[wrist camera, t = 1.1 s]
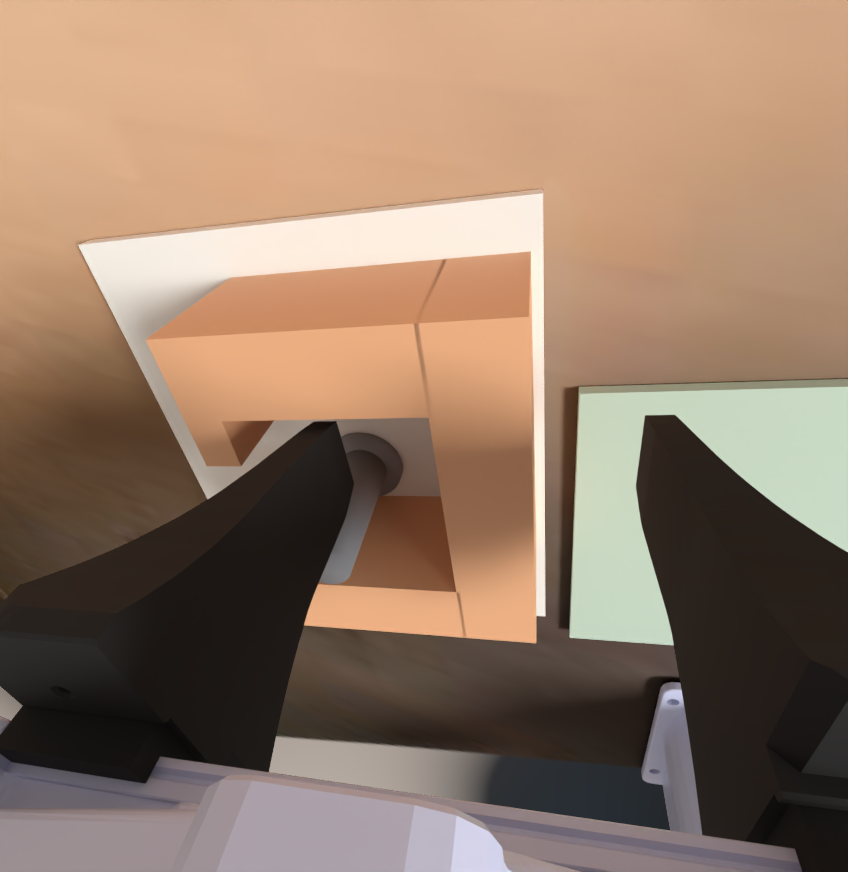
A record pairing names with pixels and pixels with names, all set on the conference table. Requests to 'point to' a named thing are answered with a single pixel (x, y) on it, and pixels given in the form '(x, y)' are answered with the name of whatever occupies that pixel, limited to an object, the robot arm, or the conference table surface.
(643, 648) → the conference table surface
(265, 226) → the stand
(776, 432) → the mat
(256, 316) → the c link
